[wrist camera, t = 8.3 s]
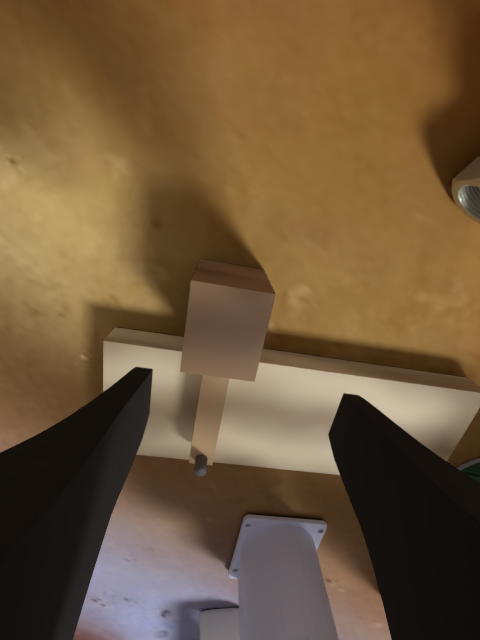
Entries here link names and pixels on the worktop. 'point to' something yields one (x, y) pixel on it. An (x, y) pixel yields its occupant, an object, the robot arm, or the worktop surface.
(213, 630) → the spoon rest
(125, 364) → the board
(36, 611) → the robot arm
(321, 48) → the worktop surface
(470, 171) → the valve
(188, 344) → the mallet
